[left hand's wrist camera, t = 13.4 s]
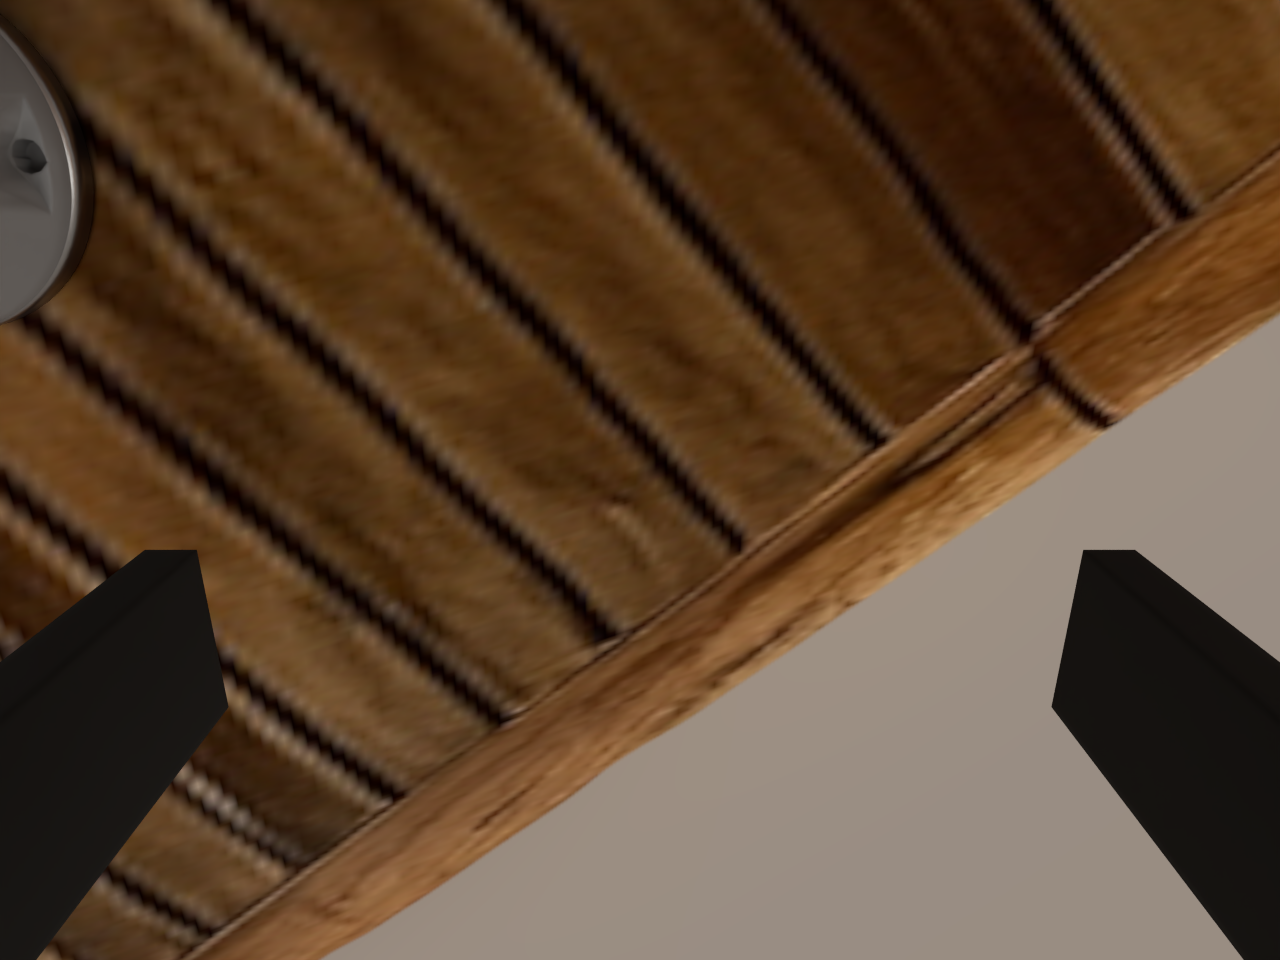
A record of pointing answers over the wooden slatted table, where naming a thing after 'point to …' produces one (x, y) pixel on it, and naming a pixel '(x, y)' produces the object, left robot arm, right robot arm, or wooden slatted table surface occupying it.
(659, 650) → the wooden slatted table surface
